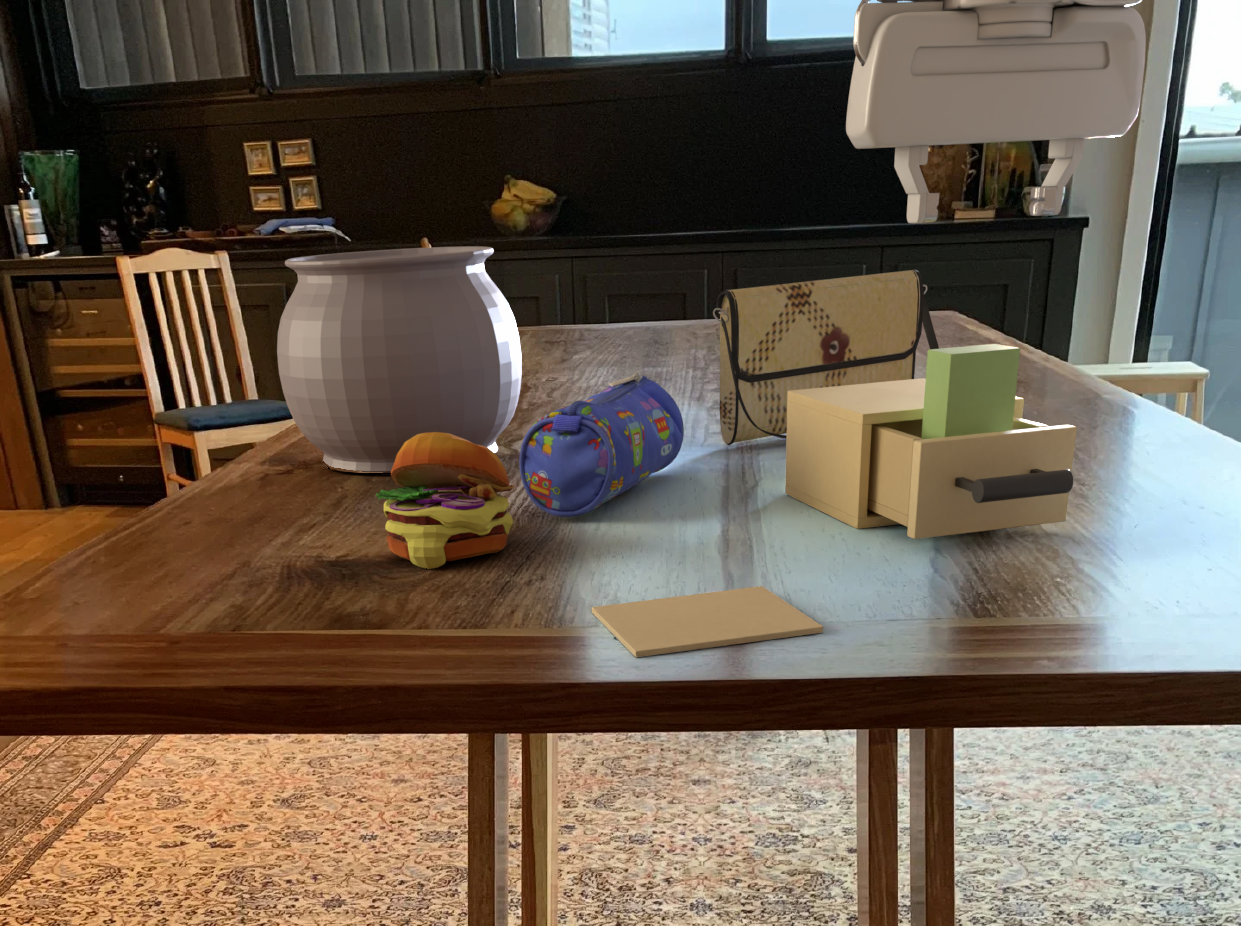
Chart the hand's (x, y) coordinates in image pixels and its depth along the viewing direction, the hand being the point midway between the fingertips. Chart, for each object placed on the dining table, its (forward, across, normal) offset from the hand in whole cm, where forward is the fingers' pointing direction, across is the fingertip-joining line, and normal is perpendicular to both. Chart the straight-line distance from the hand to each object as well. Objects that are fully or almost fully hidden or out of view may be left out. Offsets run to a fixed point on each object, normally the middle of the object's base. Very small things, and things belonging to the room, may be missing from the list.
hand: (983, 219), depth 91 cm
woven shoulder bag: (+22, +10, +45) cm, 51 cm away
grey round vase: (+22, -35, +53) cm, 67 cm away
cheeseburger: (+22, -38, +11) cm, 45 cm away
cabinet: (+21, 0, +11) cm, 24 cm away
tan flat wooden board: (+22, -26, -15) cm, 37 cm away
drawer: (+20, 0, 0) cm, 20 cm away
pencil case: (+22, -21, +25) cm, 39 cm away
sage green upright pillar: (+19, 0, 0) cm, 19 cm away
